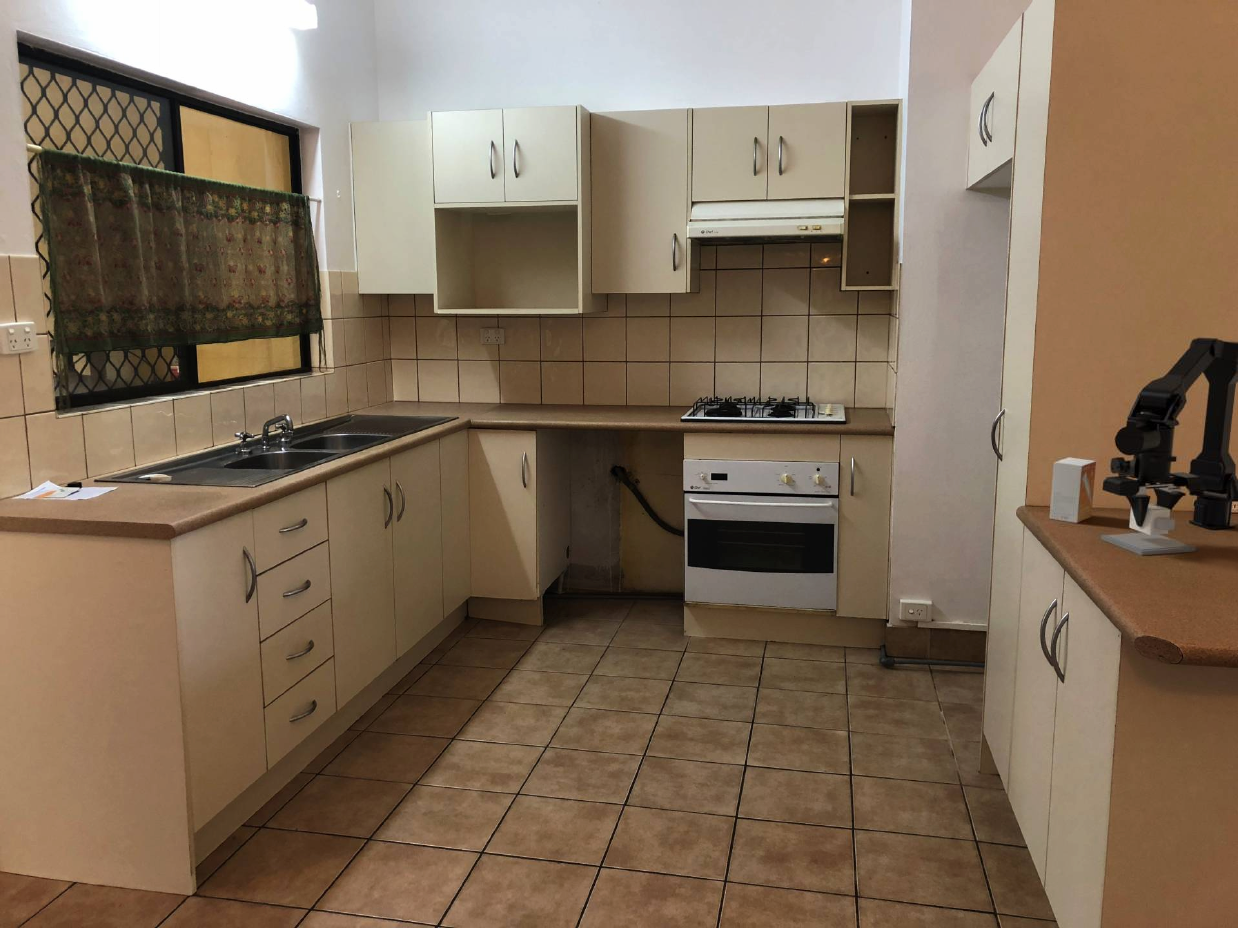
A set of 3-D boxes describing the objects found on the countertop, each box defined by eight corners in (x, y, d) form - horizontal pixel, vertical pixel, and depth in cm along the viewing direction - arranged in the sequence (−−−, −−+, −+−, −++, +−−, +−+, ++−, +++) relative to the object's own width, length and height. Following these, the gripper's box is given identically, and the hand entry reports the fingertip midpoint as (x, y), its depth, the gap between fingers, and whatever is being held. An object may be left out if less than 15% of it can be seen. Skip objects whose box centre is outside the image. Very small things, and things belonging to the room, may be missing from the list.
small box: (1077, 523, 218) (1082, 465, 215) (1048, 518, 222) (1052, 461, 219) (1092, 517, 223) (1096, 460, 220) (1063, 512, 228) (1068, 456, 225)
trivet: (1151, 535, 207) (1152, 531, 207) (1195, 551, 196) (1195, 546, 196) (1100, 539, 205) (1101, 534, 205) (1141, 555, 194) (1141, 550, 193)
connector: (1146, 526, 203) (1148, 502, 202) (1176, 536, 195) (1179, 512, 194) (1129, 527, 203) (1131, 503, 202) (1158, 538, 194) (1161, 513, 193)
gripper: (1167, 440, 206) (1160, 513, 209) (1087, 444, 203) (1081, 518, 206) (1208, 450, 195) (1200, 526, 199) (1125, 454, 192) (1118, 532, 195)
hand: (1148, 525), depth 200 cm, fingers closed on connector, 4 cm apart
